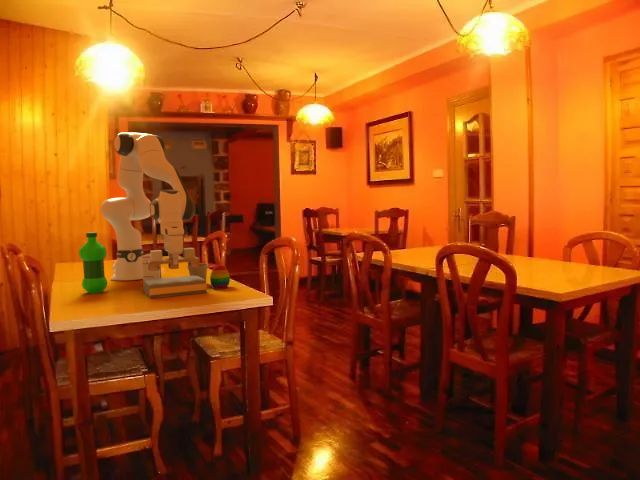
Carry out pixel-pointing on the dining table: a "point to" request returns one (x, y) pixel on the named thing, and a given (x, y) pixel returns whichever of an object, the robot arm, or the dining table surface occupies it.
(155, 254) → the block
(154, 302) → the dining table surface
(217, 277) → the decorative egg
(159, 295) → the dock
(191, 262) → the pallet
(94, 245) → the plastic bottle
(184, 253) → the crate
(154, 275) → the syrup box
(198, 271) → the flower pot
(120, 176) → the robot arm
